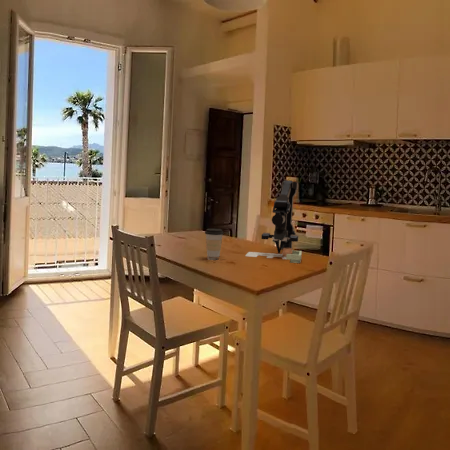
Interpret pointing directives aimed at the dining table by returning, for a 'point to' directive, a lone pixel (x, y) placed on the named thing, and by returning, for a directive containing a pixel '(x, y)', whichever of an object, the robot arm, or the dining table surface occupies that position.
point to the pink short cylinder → (286, 251)
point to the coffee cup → (213, 243)
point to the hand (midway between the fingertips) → (279, 253)
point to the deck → (293, 257)
